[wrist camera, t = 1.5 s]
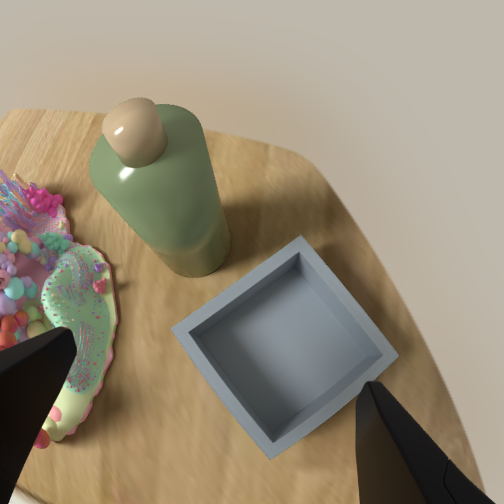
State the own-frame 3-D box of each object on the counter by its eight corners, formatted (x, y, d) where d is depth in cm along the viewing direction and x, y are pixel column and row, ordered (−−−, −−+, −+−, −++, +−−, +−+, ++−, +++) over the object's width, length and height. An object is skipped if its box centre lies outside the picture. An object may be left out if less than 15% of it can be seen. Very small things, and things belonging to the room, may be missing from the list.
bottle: (184, 292, 23) (91, 202, 10) (149, 237, 24) (58, 123, 11) (244, 249, 24) (222, 117, 10) (205, 199, 25) (159, 61, 12)
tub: (269, 443, 19) (270, 459, 15) (186, 334, 22) (170, 328, 18) (377, 357, 20) (399, 355, 17) (294, 255, 23) (300, 234, 20)
